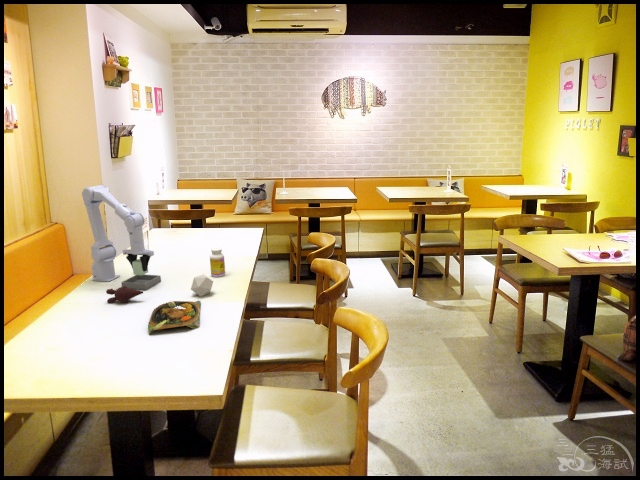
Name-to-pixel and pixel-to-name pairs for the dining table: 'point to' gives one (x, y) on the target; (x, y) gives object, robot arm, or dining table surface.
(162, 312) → the prepared meal
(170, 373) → the dining table surface
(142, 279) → the gray tray
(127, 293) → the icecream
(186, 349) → the dining table surface
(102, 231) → the robot arm
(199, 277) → the die
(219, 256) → the supplement bottle
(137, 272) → the mint block
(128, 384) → the dining table surface
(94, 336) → the dining table surface
